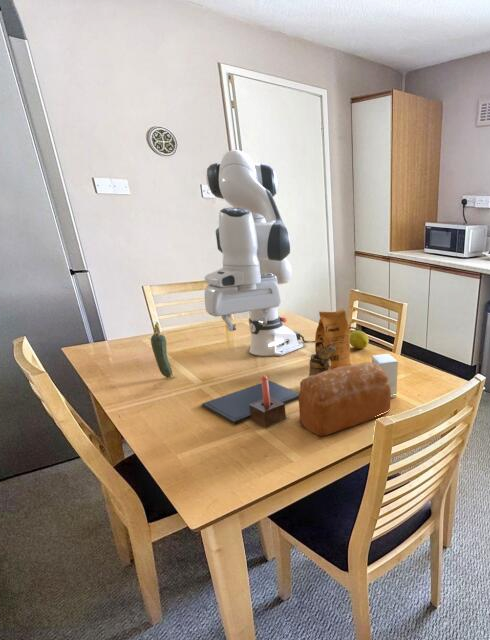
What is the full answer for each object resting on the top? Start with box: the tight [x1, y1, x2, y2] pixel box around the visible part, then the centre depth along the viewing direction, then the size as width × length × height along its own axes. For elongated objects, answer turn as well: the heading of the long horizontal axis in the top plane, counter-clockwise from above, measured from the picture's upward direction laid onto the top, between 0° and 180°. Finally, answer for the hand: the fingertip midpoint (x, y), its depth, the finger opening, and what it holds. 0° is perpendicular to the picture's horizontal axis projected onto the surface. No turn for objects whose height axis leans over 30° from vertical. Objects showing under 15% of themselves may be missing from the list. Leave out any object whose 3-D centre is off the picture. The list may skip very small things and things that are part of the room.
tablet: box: [201, 380, 299, 425], centre depth 129 cm, size 24×17×1 cm
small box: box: [371, 353, 399, 399], centre depth 137 cm, size 8×6×13 cm
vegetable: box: [150, 321, 174, 379], centre depth 137 cm, size 4×4×20 cm
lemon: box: [349, 330, 370, 350], centre depth 180 cm, size 11×8×8 cm
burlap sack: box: [308, 345, 336, 377], centre depth 137 cm, size 9×14×18 cm, turn 35°
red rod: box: [260, 375, 270, 407], centre depth 117 cm, size 2×2×14 cm
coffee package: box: [314, 308, 351, 369], centre depth 157 cm, size 10×12×22 cm
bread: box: [298, 361, 391, 437], centre depth 120 cm, size 14×26×16 cm, turn 133°
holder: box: [249, 397, 287, 429], centre depth 118 cm, size 7×7×5 cm
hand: (248, 327), depth 111 cm, fingers open, 8 cm apart
